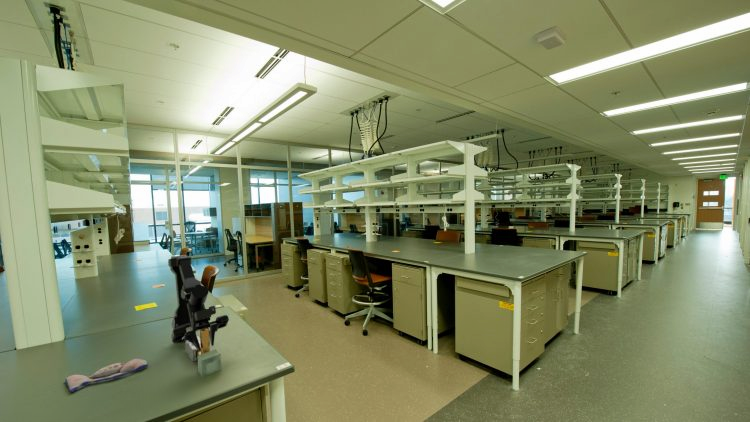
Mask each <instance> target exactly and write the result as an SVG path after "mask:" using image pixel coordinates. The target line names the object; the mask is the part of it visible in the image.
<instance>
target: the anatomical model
mask: <svg viewBox="0 0 750 422" xmlns="http://www.w3.org/2000/svg"><path fill="white" fill-rule="evenodd" d="M148 366H149V363H148V362H147V360H145V359H142V357H141V358H140V357H137V358H134V359H131V360H129V361H127V363H123V362H116V363H112V364H109V365H106V366H104V367H102V368H100V369H99V370H97V371H95V372H94V373H93V374H92V375H90V376H86V375H82V374H72V375H70V376H67V377H66V378H65V383H66V386H67V387H68V389H69V391H70V392H71V393H73V392H76V391H77V390H80V389H82V388H85V387H87V386H88V385H90V384H93V383H100V382H102V381H108V380H114V379H118V378H121V377H122V376H125V375H128V374H130V373H133V372H138V371H140V370H143V369H145V368H147V367H148Z"/></svg>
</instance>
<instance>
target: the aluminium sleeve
mask: <svg viewBox="0 0 750 422" xmlns="http://www.w3.org/2000/svg"><path fill="white" fill-rule="evenodd" d="M196 336H197V339H198V342H199V344H200V335H196ZM184 349H185V350H184V351H185V353H186V354H187V356H188V357H189V359H190V360H191V361H192V362H196V361H197V362H198V357H197V356H196V350H198V349H197V348H196V347H195V346H194V345H193V344H192V343H191V342H189V341H188V340H186V341H185V342H184ZM200 349H201V345H200Z"/></svg>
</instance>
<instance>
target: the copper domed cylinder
mask: <svg viewBox="0 0 750 422" xmlns="http://www.w3.org/2000/svg"><path fill="white" fill-rule="evenodd" d="M209 331H210V328H204V329H201V330H199V337H200V345H201V349H200V350H196V356H197V357H198V355H201V354H203V353H206V352H209V351H211V348H210V347H211V345H210V344H211V342H210V336H209Z"/></svg>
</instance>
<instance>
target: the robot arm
mask: <svg viewBox="0 0 750 422" xmlns="http://www.w3.org/2000/svg"><path fill="white" fill-rule="evenodd" d="M167 261H168V262H167V264H168V267H170V271H171V273H172V274H174V277H175V278H174V279H175V287H176V290H175V291H176V300H177V307H176V309H175V310H174V313H173V318H172V321H171V328H172V333H171V342H172V343H174V344H175V343H185V341H186V340H188V341H189V342H191V343H192V344H193V345H194V346H195V347H196V348H197V349H198V350H200V344H199V342H198V339H197V336H198V335H197V332H200V330H201V329H204V328H209V338H210V344H211V345H210V346H211V347H214V344H215V336H216V332H217V331H218V330H219V329H223V328H226V327H227V326H228V323H229V321H230V319H229V318H230V317H229V315H227V314H223V315H220V316H217V317H216V318H215V320H212V321H211V317H212V316H214V315H215V314H217V310H216V306H215V305H211V306H209V307H208V308H206V306H205V303H206V301H207V299H208V295H209V292H210V291H209V288H208V287H207V286H204V285H202V283H201V281H200V280H199V279H196V276H195V272H194V270H193V267H192V266H193V265H192V256H188V254H181V255H173V256H171V257H170V258H168V259H167Z"/></svg>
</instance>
